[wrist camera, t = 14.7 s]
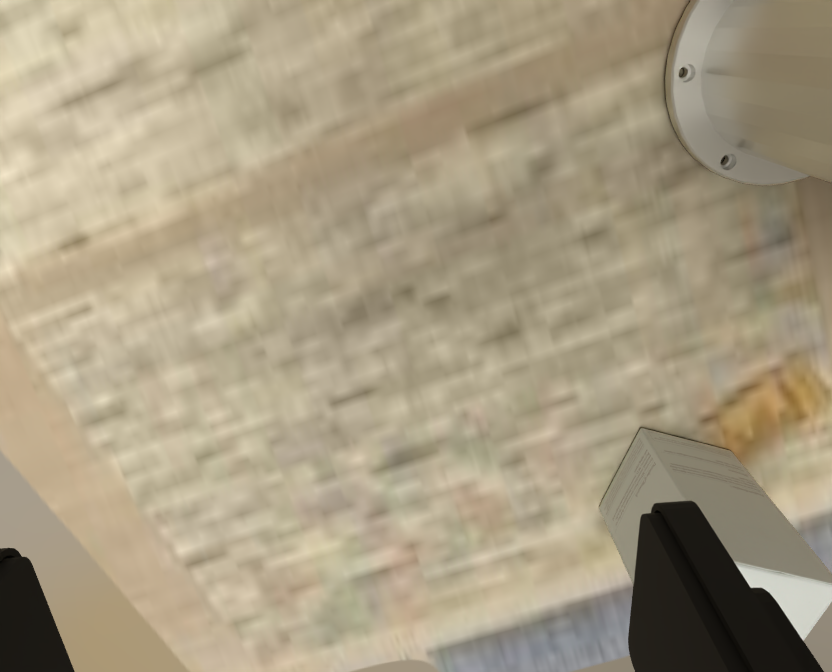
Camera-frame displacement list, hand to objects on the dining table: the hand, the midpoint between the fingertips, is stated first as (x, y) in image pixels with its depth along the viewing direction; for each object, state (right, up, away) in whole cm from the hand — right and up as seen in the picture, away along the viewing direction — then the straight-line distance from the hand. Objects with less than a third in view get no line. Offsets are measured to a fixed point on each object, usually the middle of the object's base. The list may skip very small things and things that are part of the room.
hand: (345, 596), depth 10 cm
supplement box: (+19, -6, +37) cm, 42 cm away
